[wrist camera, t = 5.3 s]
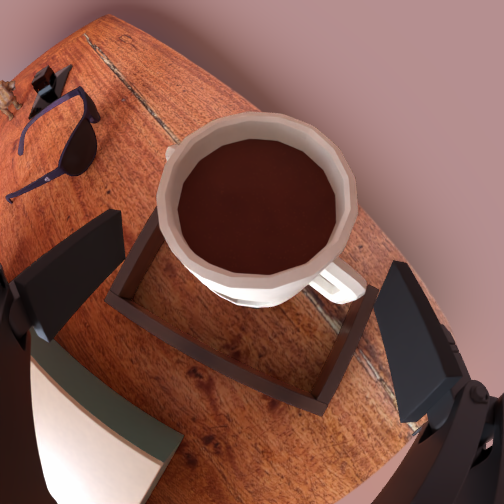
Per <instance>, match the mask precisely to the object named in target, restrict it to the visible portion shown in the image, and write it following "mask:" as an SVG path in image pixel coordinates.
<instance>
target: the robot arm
mask: <svg viewBox="0 0 504 504" xmlns="http://www.w3.org/2000/svg"><path fill="white" fill-rule="evenodd" d="M125 259H126V257H125V248H124V239H123V228H122V216H121V211H120V210H114V209H108V210H107V211H105V212H104V213H102V214H100V215H99V216H97V217H96V218H94V219H93V220H91V221H90V222H88V223H87V224H86V225H84V226H83V227H81V228H80V229H78V230H77V231H75V232H74V233H73V234H71V235H70V236H68V237H67V238H66V239H64V240H63V241H62V242H60V243H59V244H58V245H56V246H55V247H54V248H52V249H51V250H50V251H48V252H47V253H45V254H44V255H42V256H41V257H40V258H38V259H37V261H35V262H33V263H32V264H31V266H29V267H27V268H26V269H25V270H24V271H23V272H21V273H20V274H19V275H18V276H17V277H16V278H14V279H13V280H12V281H11V282H10V283H9V284H8V281H7V278H6V275H5V273H4V270H3V267H2V265H1V263H0V504H58V502H57V501H56V500H55V499H54V497H53V496H52V495H51V494H50V492H49V490H48V488H47V484H46V481H45V477H44V473H43V469H42V465H41V460H40V456H39V451H38V445H37V440H36V433H35V426H34V418H33V409H32V396H31V333H30V331H29V329H30V328H31V327H32V326H33V327H34V329H35V331H36V333H37V335H38V336H39V337H40V338H42V339H44V340H46V341H47V342H49V343H50V342H51V341H52V339H53V338H54V337H55V336H56V334H57V333H58V332H59V331H60V330H61V328H62V327H63V326H64V325H65V324H66V322H67V321H68V320H69V319H70V318H71V317H72V315H73V314H74V313H75V312H76V311H77V310H78V309H79V307H80V306H81V305H82V304H83V303H84V302H85V301H86V300H87V299H88V297H89V296H90V295H91V294H92V293H93V292H94V291H95V290H96V289H97V288H98V287H99V286H100V284H101V283H102V282H103V281H104V280H105V279H106V278H107V277H108V276H109V275H110V274H111V273H112V272H113V271H114V270H115V269H116V268H117V267H118V266H119V265H120V264H121V263H122V262H123V261H124V260H125ZM373 308H374V312H375V315H376V318H377V322H378V325H379V329H380V332H381V336H382V340H383V344H384V347H385V351H386V355H387V359H388V363H389V368H390V372H391V376H392V381H393V385H394V390H395V395H396V400H397V405H398V411H399V417H400V422H401V423H406V422H417V421H418V420H419V419H421V418H422V417H423V416H424V415H425V414H426V413H427V416H428V421H427V422H425V423H424V424H423V425H422V426H421V427H420V428H418V429H417V430H416V431H415V432H414V433H413V434H412V436H415V435H416V434H417V433H418V432H419V434H418V436H417V438H416V439H415V441H414V443H413V444H412V446H411V448H410V450H409V451H408V453H407V455H406V456H405V458H404V459H403V461H402V462H401V464H400V465H399V467H398V468H397V470H396V471H395V473H394V474H393V476H392V477H391V478H390V480H389V481H388V483H387V484H386V486H385V487H384V488H383V489H382V491H381V492H380V493H379V495H378V496H377V497H376V499H375V500H374V501H373V502H372V503H371V504H504V393H503V394H502V395H501V396H500V397H499V398H496V397H492V396H489V393H488V391H487V389H486V387H485V386H484V385H483V384H482V383H481V382H479V381H476V380H471V378H470V375H469V373H468V371H467V368H466V366H465V363H464V361H463V359H462V356H461V354H460V353H459V350H458V348H457V345H455V341H454V339H453V337H452V335H451V333H450V332H449V331H448V330H447V328H446V327H445V326H444V325H442V324H440V322H439V320H438V318H437V316H436V314H435V313H434V311H433V309H432V307H431V305H430V303H429V301H428V299H427V297H426V296H425V294H424V292H423V290H422V288H421V287H420V285H419V283H418V281H417V280H416V278H415V276H414V274H413V273H412V271H411V269H410V268H409V266H408V264H407V263H404V262H399V261H395V260H393V262H392V264H391V267H390V269H389V272H388V274H387V276H386V279H385V281H384V283H383V286H382V288H381V290H380V292H379V295H378V297H377V299H376V301H375V303H374V305H373ZM491 439H493V445H492V446H491V447H489V448H488V449H486V443H487V442H489V441H490V440H491Z"/></svg>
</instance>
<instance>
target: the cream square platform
mask: <svg viewBox="0 0 504 504" xmlns="http://www.w3.org/2000/svg"><path fill="white" fill-rule="evenodd" d="M29 331H30V333H31V396H32V409H33V418H34V426H35V433H36V440H37V445H38V451H39V456H40V460H41V465H42V469H43V473H44V477H45V481H46V484H47V488H48V490H49V492H50V494H51V495H52V496H53V497H54V499H55V500H56V501H57V502H58V504H145V503H146V501H147V500H148V498H149V496H150V495H151V493H152V491H153V490H154V488H155V486H156V484H157V483H158V481H159V479H160V478H161V476H162V474H163V472H164V471H165V469H166V467H167V465H168V464H169V462H170V460H171V458H172V457H173V455H174V453H175V451H176V450H177V448H178V446H179V444H180V443H181V441H182V439H183V437H184V435H182V434H181V433H179V432H177V431H175V430H173V429H172V428H170V427H168V426H166V425H165V424H163V423H161V422H160V421H158V420H156V419H155V418H153V417H152V416H150V415H148V414H147V413H145V412H144V411H142V410H141V409H139V408H138V407H136V406H135V405H133V404H132V403H130V402H129V401H127V400H126V399H125V398H123V397H122V396H120V395H119V394H118V393H116V392H115V391H114V390H112V389H111V388H110V387H108V386H107V385H106V384H104V383H103V382H102V381H101V380H99V379H98V378H97V377H96V376H94V375H93V374H92V373H91V372H89V371H88V370H87V369H86V368H85V367H84V366H82V365H81V364H80V363H79V362H78V361H77V360H76V359H74V358H73V357H72V356H71V355H70V354H69V353H68V352H67V351H66V350H65V349H64V348H63V347H61V346H60V345H59V344H58V343H57V342H56V341H55V340H54V339H52V341H51V342H50V343H49V342H47V341H46V340H44V339H42V338H40V337H39V336H38V335H37V333H36V331H35V329H34V327H33V326H32V327H31V328H30V329H29Z"/></svg>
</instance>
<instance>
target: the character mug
mask: <svg viewBox="0 0 504 504" xmlns="http://www.w3.org/2000/svg"><path fill="white" fill-rule="evenodd" d="M165 155H166V159H167V162H166V164H165V166H164V170H163V173H162V177H161V180H160V184H159V187H158V191H157V194H156V201H157V210H158V218H159V226H160V230H161V232H162V234H163V236H164V238H165V240H166V242H167V243H168V245H169V247H170V249H171V251H172V252H173V253H174V255H175V256H176V257H177V258H178V259H179V260H180V261H181V262H182V264H183V265H184V266H185V267H186V268H187V269H188V270H189V271H190V272H191V273H193V274H194V275H195V276H196V277H197V278H198V279H199V280H200V281H201V282H202V283H203V284H204V285H206V286H207V287H208V288H209V289H210V290H211V291H212V292H214V293H216V294H217V295H219V296H220V297H222V298H224V299H226V300H228V301H230V302H232V303H234V304H236V305H240V306H245V307H250V308H255V309H259V308H263V307H273V306H276V305H279V304H282V303H283V302H285V301H287V300H289V299H290V298H292V297H293V296H295V295H296V294H297V293H299V292H300V291H301V290H302V289H303V288H304V287H306V286H307V285H308V284H309V285H310V286H312V287H313V288H314V289H315V290H317V291H318V292H319V293H321V294H322V295H323V296H324V297H326V298H327V299H329V300H330V301H332V302H334V303H338V304H345V303H348V302H351V301H354V300H357V299H358V298H360V297H361V296H363V295H364V294H365V292H366V285H367V281H366V280H365V279H364V278H363V277H362V276H361V275H360V274H359V273H358V272H357V271H356V270H355V269H354V268H352V267H351V266H350V265H349V264H347V263H346V262H345V261H343V260H342V259H341V258H340V257H338V256H339V255H340V254H341V253H342V251H343V250H344V248H345V246H346V244H347V241H348V239H349V236H350V233H351V231H352V228H353V226H354V223H355V220H356V218H357V215H358V201H357V189H356V178H355V176H354V174H353V172H352V170H351V168H350V167H349V165H348V163H347V161H346V159H345V157H344V155H343V153H342V152H341V150H340V148H339V147H337V146H336V145H335V144H334V143H333V142H332V141H331V140H330V139H329V138H327V137H326V136H325V135H324V134H323V133H322V132H320V131H319V130H318V129H317V128H316V127H314V126H312V125H310V124H308V123H305V122H303V121H300V120H297V119H295V118H292V117H290V116H287V115H284V114H279V113H266V112H243V113H239V114H235V115H230V116H226V117H222V118H218V119H215V120H213V121H211V122H209V123H208V124H206V125H204V126H203V127H201V128H199V129H198V130H196V131H195V132H193V133H191V134H190V135H188V136H187V137H185V138H184V140H183V141H182V142H181V144H180V145H177V144H175V145H171V146H168V148H167V151H166V154H165Z"/></svg>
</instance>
